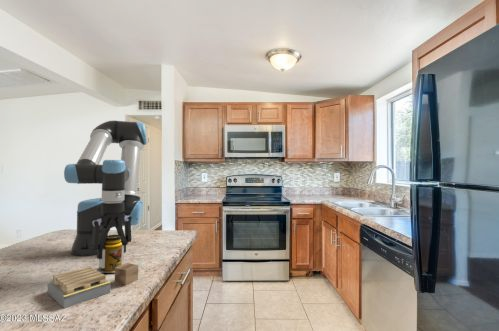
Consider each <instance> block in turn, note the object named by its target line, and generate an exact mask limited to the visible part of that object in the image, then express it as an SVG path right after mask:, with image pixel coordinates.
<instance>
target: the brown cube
mask: <svg viewBox="0 0 499 331" xmlns="http://www.w3.org/2000/svg"><path fill="white" fill-rule="evenodd" d="M122 264H123V265H121V266H118V267H116V268H115V272H114V284H117V285H121V286H129V285H130V284H133V283H134V282H137V281H138V280H139V264H135V263H130V262H126V263H122Z"/></svg>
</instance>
